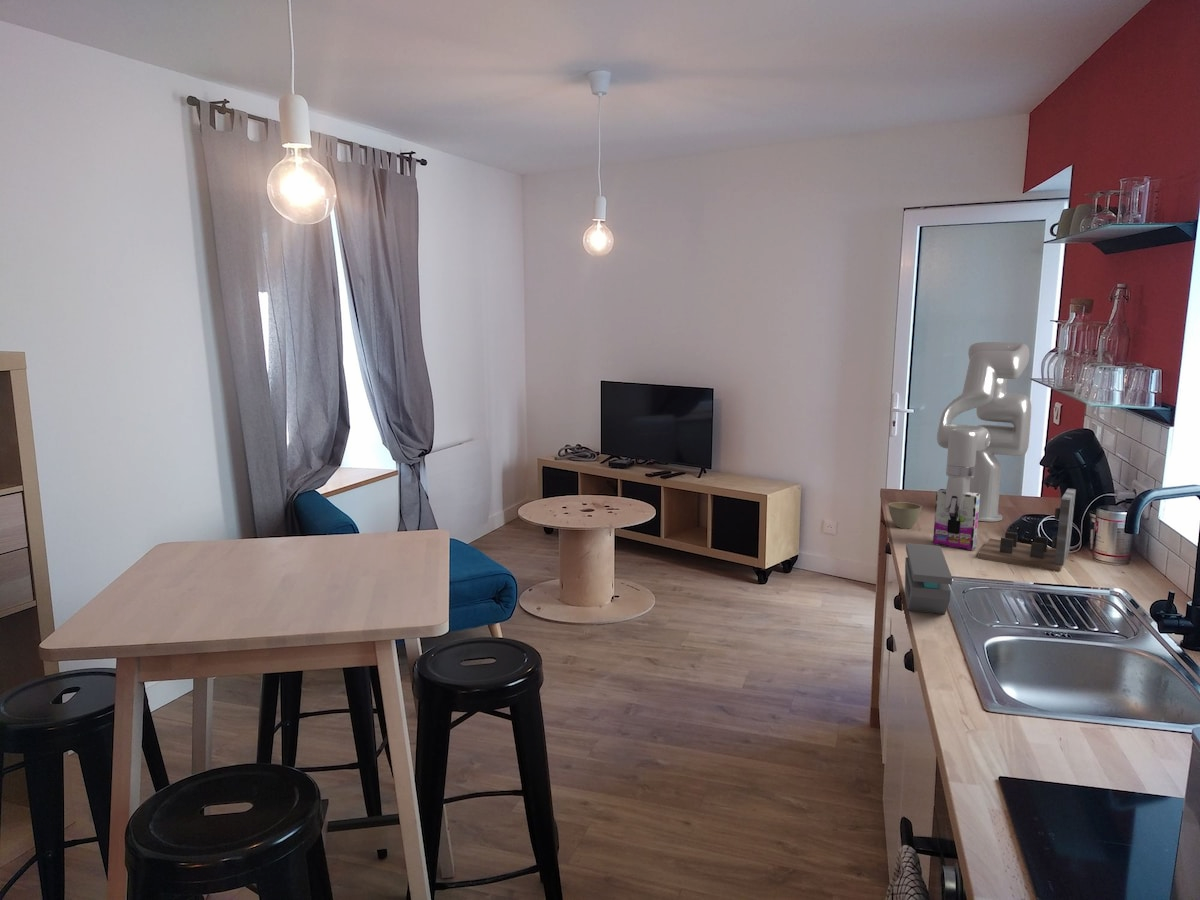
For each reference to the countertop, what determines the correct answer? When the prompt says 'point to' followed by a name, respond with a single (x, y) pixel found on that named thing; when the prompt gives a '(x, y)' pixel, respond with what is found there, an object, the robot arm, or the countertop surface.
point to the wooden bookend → (1036, 543)
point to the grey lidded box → (927, 579)
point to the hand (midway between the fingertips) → (955, 530)
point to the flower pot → (904, 513)
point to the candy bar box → (967, 520)
